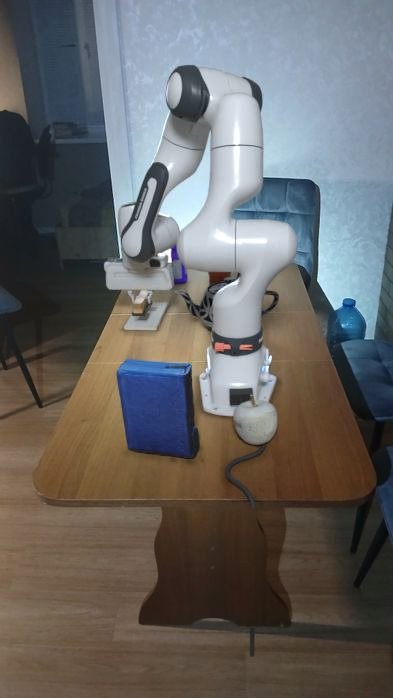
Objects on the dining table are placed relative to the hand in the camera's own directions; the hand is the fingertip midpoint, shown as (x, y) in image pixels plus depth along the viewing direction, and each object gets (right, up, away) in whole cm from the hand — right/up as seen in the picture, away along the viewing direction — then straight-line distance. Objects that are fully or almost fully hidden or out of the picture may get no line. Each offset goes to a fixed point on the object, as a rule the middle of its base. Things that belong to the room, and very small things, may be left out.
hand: (142, 302), depth 152 cm
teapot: (+26, -7, -1) cm, 27 cm away
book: (+10, -35, -52) cm, 63 cm away
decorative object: (+28, -33, -50) cm, 66 cm away
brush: (0, -2, +1) cm, 2 cm away
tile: (+1, -4, +8) cm, 9 cm away
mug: (+26, +5, +23) cm, 35 cm away
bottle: (+10, +11, +37) cm, 41 cm away
